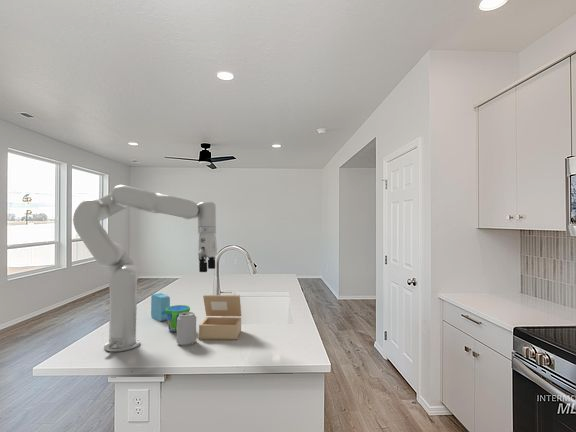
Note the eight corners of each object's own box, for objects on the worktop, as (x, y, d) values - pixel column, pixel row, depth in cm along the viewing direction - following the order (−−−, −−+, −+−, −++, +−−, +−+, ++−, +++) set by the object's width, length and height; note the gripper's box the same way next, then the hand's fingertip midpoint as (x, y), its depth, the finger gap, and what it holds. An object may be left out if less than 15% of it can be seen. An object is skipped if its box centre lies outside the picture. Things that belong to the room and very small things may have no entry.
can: (188, 338, 138) (189, 310, 139) (199, 342, 134) (200, 313, 134) (172, 343, 133) (173, 313, 133) (183, 347, 128) (184, 317, 128)
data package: (169, 320, 164) (170, 296, 165) (160, 322, 161) (161, 297, 162) (159, 315, 173) (159, 292, 173) (150, 317, 170) (151, 293, 170)
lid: (239, 296, 143) (239, 295, 144) (203, 296, 143) (203, 295, 144) (241, 316, 149) (241, 315, 150) (206, 316, 149) (206, 315, 150)
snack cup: (183, 336, 141) (184, 312, 142) (159, 335, 141) (159, 312, 142) (194, 325, 157) (194, 303, 157) (172, 324, 157) (172, 303, 157)
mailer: (236, 340, 137) (237, 325, 137) (198, 339, 137) (199, 325, 137) (241, 330, 149) (241, 317, 149) (206, 330, 149) (206, 317, 149)
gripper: (208, 231, 132) (208, 273, 132) (221, 229, 149) (222, 267, 149) (190, 231, 133) (190, 273, 133) (206, 230, 150) (206, 267, 150)
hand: (207, 270), depth 141 cm, fingers open, 9 cm apart
